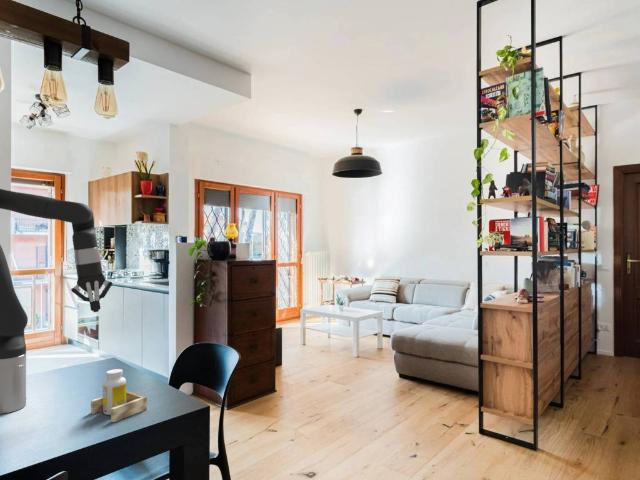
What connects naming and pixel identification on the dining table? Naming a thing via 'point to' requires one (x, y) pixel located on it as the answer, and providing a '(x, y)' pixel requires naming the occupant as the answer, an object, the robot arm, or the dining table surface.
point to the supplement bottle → (113, 390)
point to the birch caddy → (122, 406)
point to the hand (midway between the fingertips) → (96, 311)
